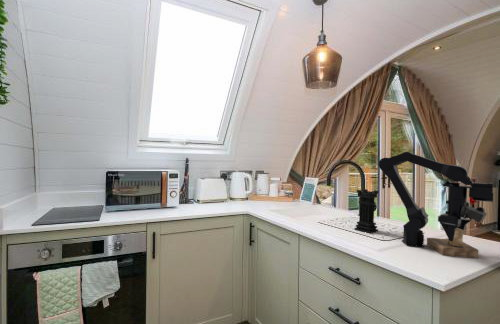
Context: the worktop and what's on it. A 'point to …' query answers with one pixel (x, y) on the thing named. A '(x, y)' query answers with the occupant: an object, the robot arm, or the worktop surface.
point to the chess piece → (366, 211)
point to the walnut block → (452, 248)
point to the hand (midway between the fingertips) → (455, 238)
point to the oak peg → (457, 239)
